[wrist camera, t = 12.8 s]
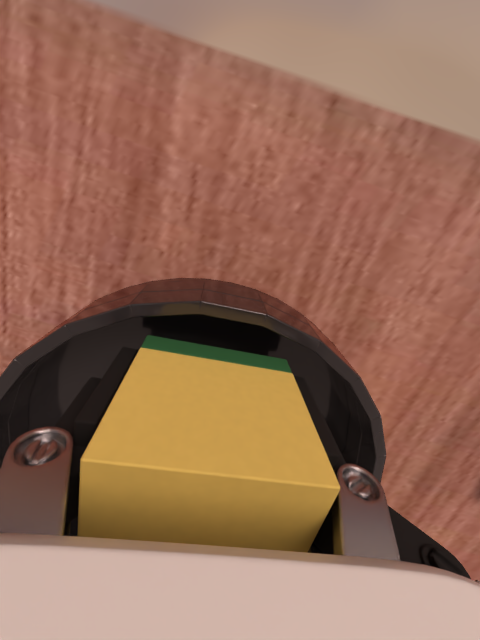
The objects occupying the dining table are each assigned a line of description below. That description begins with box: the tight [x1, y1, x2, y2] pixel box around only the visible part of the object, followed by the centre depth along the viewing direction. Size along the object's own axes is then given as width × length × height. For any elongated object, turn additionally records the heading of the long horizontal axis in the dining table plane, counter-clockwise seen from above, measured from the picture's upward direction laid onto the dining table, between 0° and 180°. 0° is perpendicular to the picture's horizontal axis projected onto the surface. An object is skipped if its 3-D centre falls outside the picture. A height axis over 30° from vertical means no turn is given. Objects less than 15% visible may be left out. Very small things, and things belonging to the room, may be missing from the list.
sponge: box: [77, 335, 340, 553], centre depth 9 cm, size 4×6×6 cm
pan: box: [0, 278, 386, 536], centre depth 15 cm, size 18×18×4 cm
